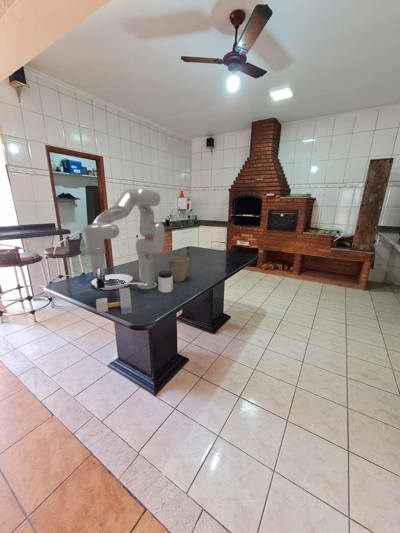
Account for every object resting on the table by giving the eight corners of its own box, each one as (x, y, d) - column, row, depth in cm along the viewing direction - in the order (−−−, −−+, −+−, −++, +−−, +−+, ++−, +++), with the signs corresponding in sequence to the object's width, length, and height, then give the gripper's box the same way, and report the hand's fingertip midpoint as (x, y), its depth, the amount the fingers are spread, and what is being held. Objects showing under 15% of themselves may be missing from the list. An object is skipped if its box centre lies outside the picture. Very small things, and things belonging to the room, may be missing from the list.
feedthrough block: (120, 301, 123) (119, 286, 121) (129, 300, 125) (128, 285, 123) (121, 314, 109) (120, 297, 106) (132, 312, 111) (130, 296, 108)
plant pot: (190, 277, 166) (190, 256, 162) (187, 284, 152) (187, 261, 147) (170, 276, 167) (170, 256, 163) (166, 283, 153) (165, 260, 149)
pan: (115, 276, 168) (115, 268, 166) (161, 287, 146) (160, 278, 144) (83, 286, 146) (81, 277, 144) (130, 301, 124) (129, 290, 122)
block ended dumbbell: (97, 308, 114) (96, 299, 113) (130, 304, 120) (130, 294, 118) (97, 312, 110) (95, 302, 109) (131, 307, 116) (130, 298, 114)
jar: (175, 290, 140) (175, 272, 137) (165, 293, 135) (164, 275, 131) (166, 286, 146) (166, 269, 143) (156, 290, 141) (155, 271, 137)
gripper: (89, 248, 111) (94, 279, 116) (86, 255, 96) (91, 292, 101) (105, 247, 114) (109, 278, 119) (104, 254, 99) (109, 289, 104)
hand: (101, 284), depth 110 cm, fingers open, 9 cm apart
